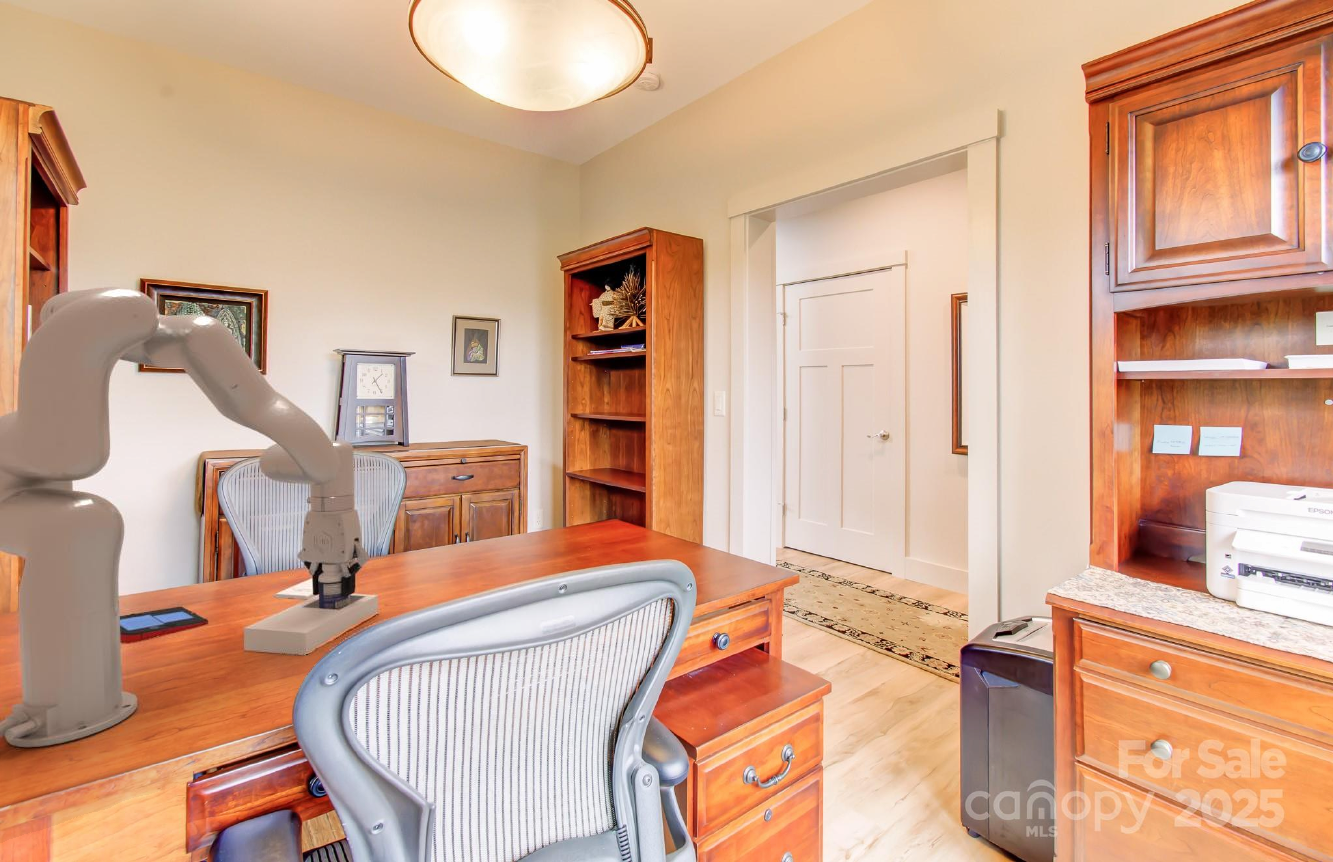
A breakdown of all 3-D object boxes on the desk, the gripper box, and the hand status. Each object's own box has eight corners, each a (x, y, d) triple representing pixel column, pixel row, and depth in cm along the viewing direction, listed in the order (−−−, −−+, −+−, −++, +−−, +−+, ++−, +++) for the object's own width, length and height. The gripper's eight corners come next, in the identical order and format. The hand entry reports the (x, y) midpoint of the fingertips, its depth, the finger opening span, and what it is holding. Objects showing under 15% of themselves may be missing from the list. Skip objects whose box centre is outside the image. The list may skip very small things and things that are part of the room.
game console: (210, 626, 116) (209, 615, 116) (124, 648, 105) (123, 636, 105) (182, 610, 124) (182, 600, 124) (100, 629, 113) (100, 618, 113)
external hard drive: (345, 585, 143) (307, 602, 130) (314, 583, 144) (273, 600, 131) (345, 578, 142) (307, 595, 130) (313, 576, 144) (273, 593, 131)
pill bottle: (322, 606, 120) (321, 559, 119) (352, 604, 121) (351, 557, 121) (315, 616, 114) (314, 566, 114) (346, 613, 116) (346, 564, 116)
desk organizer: (305, 655, 102) (305, 632, 102) (244, 650, 104) (243, 628, 104) (378, 614, 122) (378, 595, 122) (325, 610, 124) (325, 591, 124)
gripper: (278, 505, 114) (280, 597, 115) (360, 508, 112) (361, 603, 113) (307, 498, 122) (309, 585, 123) (384, 502, 119) (385, 590, 120)
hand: (334, 593), depth 118 cm, fingers closed on pill bottle, 5 cm apart
